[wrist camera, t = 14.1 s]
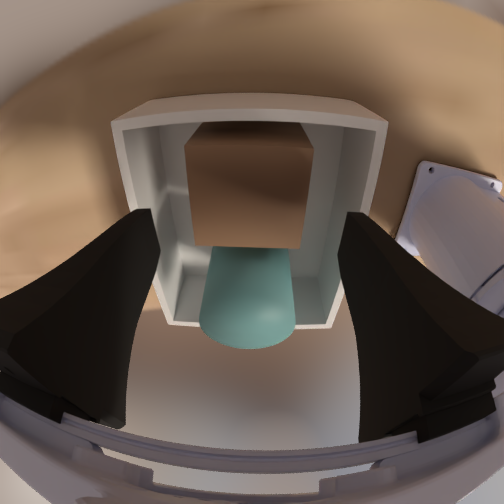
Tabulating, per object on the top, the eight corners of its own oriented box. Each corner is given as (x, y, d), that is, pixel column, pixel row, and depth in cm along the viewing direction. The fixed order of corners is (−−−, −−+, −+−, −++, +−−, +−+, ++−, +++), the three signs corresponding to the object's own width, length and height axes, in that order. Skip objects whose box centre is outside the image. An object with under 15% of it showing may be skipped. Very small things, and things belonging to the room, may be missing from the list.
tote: (352, 100, 13) (388, 121, 9) (321, 277, 22) (331, 327, 18) (150, 99, 13) (110, 121, 9) (181, 274, 22) (168, 324, 19)
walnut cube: (290, 197, 17) (299, 248, 13) (210, 194, 17) (195, 245, 13) (297, 119, 14) (314, 148, 10) (206, 117, 14) (184, 145, 10)
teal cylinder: (286, 266, 21) (292, 347, 15) (220, 267, 21) (208, 348, 16) (287, 209, 18) (298, 292, 12) (209, 212, 18) (189, 294, 12)
